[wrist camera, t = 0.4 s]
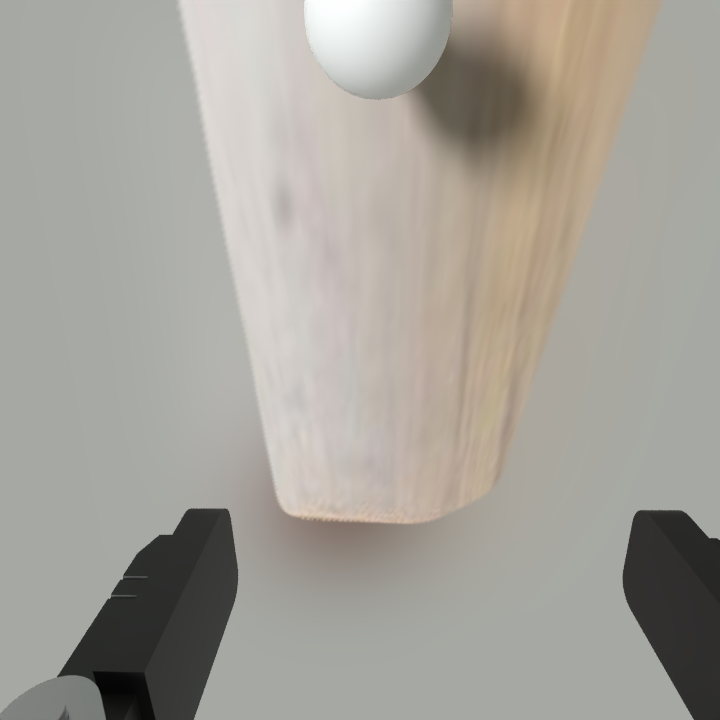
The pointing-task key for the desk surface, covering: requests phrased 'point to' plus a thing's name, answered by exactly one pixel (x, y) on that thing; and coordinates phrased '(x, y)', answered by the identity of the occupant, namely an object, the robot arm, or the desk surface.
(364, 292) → the desk surface
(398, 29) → the lightbulb
